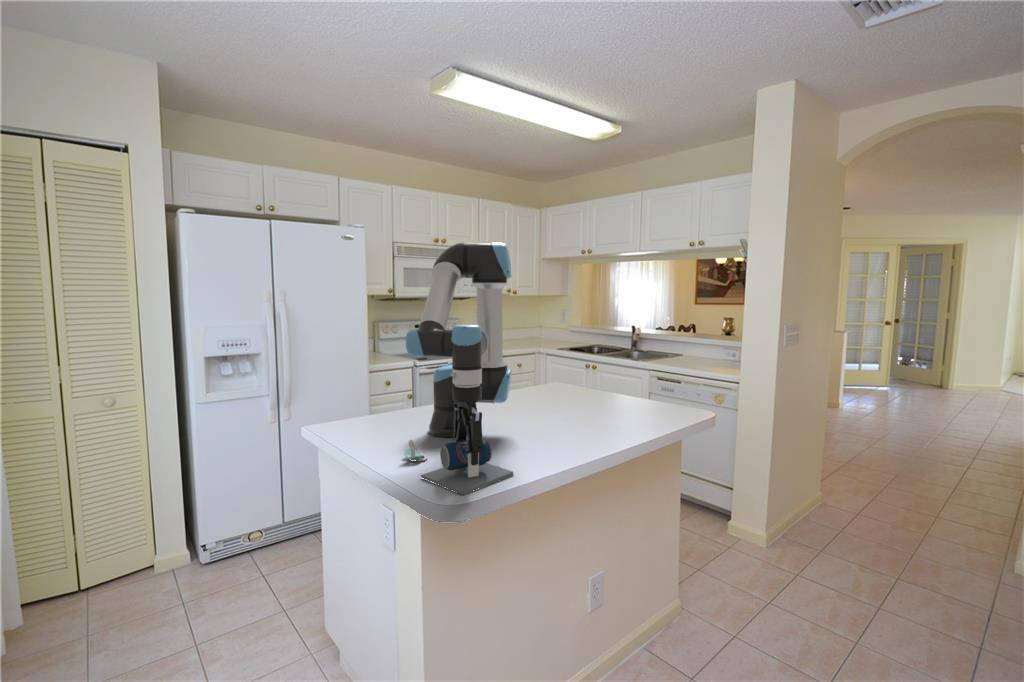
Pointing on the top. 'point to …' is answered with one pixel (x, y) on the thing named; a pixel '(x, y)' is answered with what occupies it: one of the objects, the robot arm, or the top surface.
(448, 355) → the robot arm
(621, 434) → the top surface
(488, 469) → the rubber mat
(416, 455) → the pacifier
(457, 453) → the soda can
